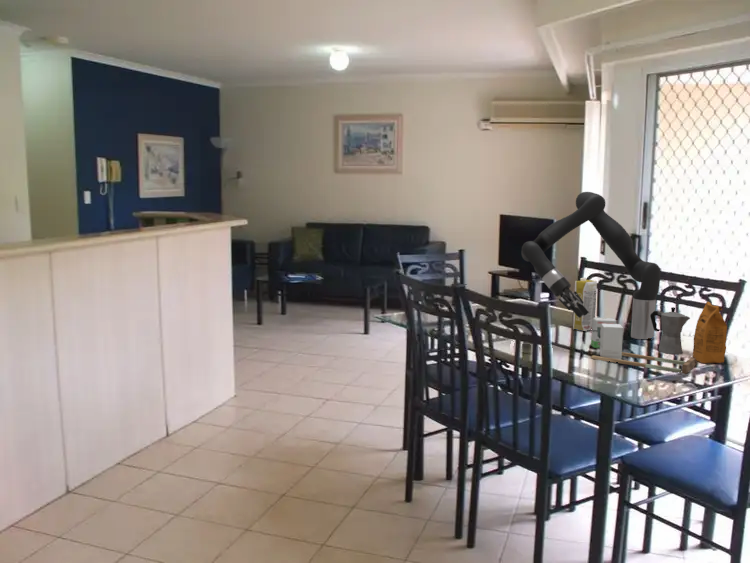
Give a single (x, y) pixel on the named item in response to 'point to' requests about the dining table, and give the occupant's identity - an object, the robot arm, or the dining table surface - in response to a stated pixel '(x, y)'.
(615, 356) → the supplement box
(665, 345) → the coffeepot
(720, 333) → the coffee package
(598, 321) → the ink box
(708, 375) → the dining table surface
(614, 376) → the dining table surface
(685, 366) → the beam slot
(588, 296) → the juice carton
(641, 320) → the robot arm
